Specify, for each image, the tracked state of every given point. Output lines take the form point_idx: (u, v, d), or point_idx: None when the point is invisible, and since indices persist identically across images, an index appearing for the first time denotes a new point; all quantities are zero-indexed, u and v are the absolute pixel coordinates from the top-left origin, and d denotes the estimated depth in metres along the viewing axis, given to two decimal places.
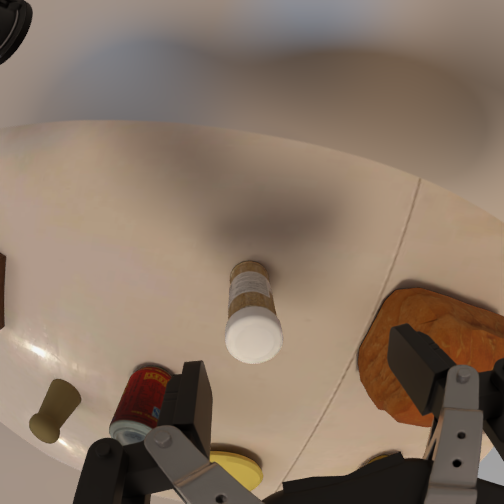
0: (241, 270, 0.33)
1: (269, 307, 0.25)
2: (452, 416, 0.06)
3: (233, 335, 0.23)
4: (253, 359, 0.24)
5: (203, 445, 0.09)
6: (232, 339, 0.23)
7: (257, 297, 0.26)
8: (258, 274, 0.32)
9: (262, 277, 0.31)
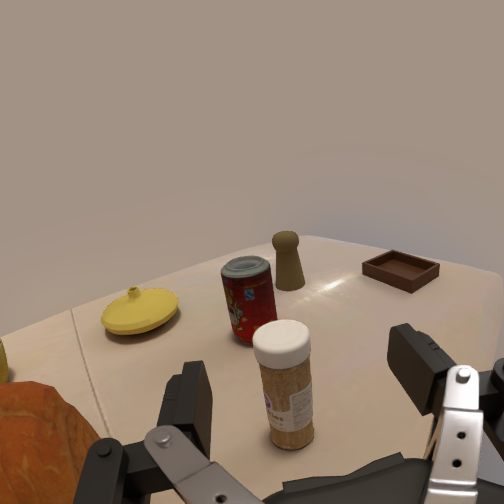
0: None
1: (290, 376, 0.22)
2: (452, 416, 0.06)
3: (299, 325, 0.24)
4: (264, 327, 0.25)
5: (203, 445, 0.09)
6: (295, 323, 0.24)
7: (303, 380, 0.23)
8: (302, 424, 0.25)
9: (298, 424, 0.24)
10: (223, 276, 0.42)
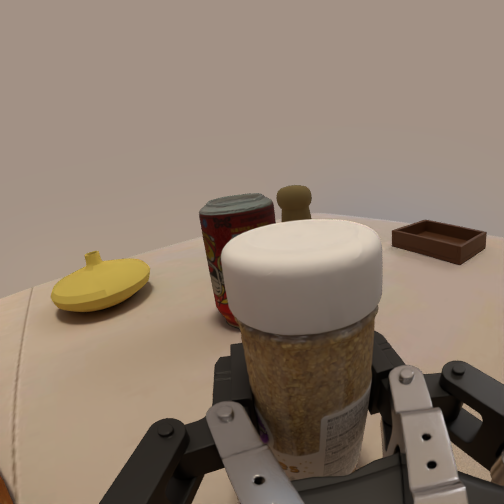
0: None
1: (330, 361, 0.07)
2: (410, 420, 0.06)
3: (346, 222, 0.09)
4: (256, 230, 0.10)
5: None
6: (336, 221, 0.09)
7: (359, 375, 0.08)
8: None
9: None
10: (201, 216, 0.27)
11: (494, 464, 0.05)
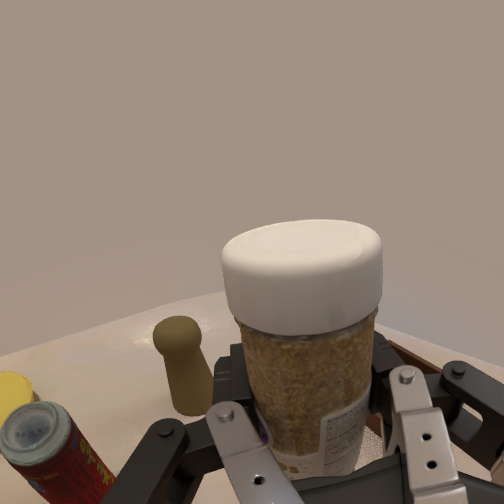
0: None
1: (330, 362, 0.07)
2: (410, 420, 0.06)
3: (346, 222, 0.09)
4: (256, 231, 0.10)
5: (256, 421, 0.10)
6: (336, 221, 0.09)
7: (359, 375, 0.08)
8: None
9: None
10: None
11: (494, 464, 0.05)
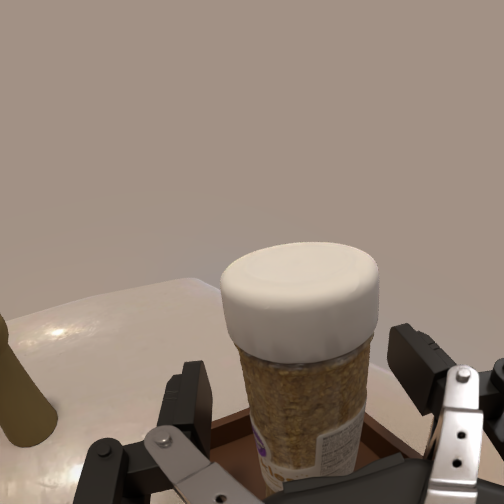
0: None
1: (326, 386, 0.07)
2: (452, 416, 0.06)
3: (344, 247, 0.09)
4: (255, 255, 0.10)
5: (203, 445, 0.09)
6: (335, 245, 0.10)
7: (354, 396, 0.08)
8: None
9: None
10: None
11: None
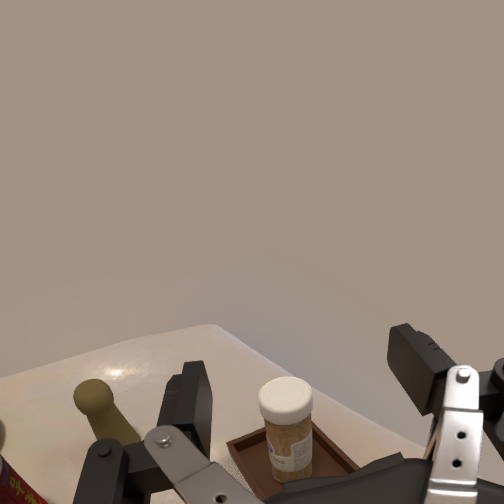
0: None
1: (292, 430, 0.22)
2: (452, 416, 0.06)
3: (302, 383, 0.24)
4: (269, 385, 0.25)
5: (203, 445, 0.09)
6: (299, 381, 0.24)
7: (304, 432, 0.23)
8: (302, 466, 0.24)
9: (298, 466, 0.24)
10: None
11: None
